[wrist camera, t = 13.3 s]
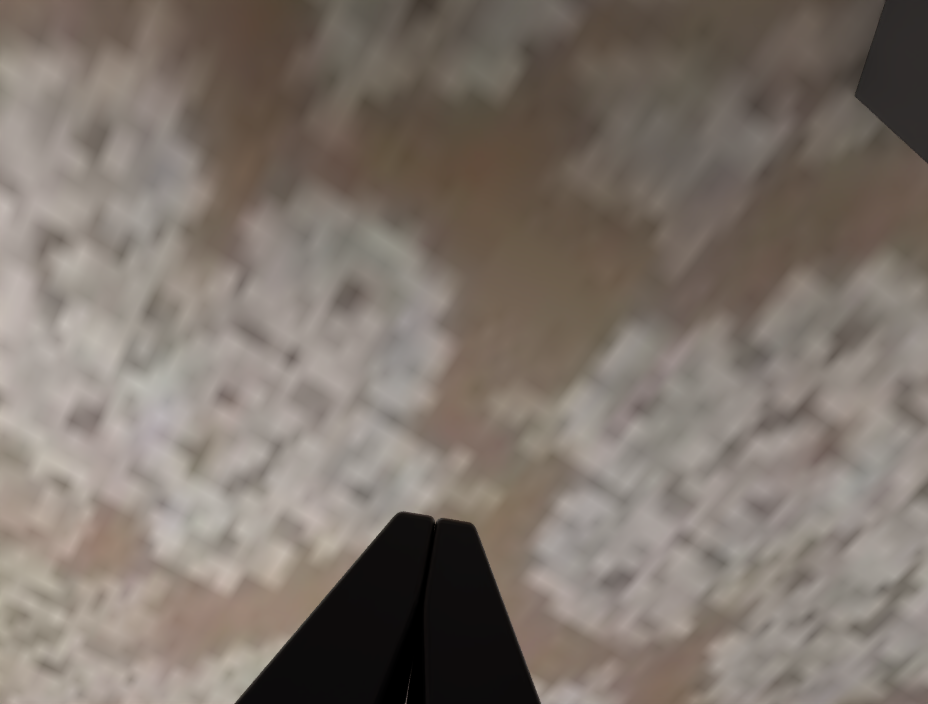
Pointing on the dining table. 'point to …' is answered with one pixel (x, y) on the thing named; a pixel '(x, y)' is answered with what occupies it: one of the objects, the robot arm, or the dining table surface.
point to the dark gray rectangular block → (900, 72)
